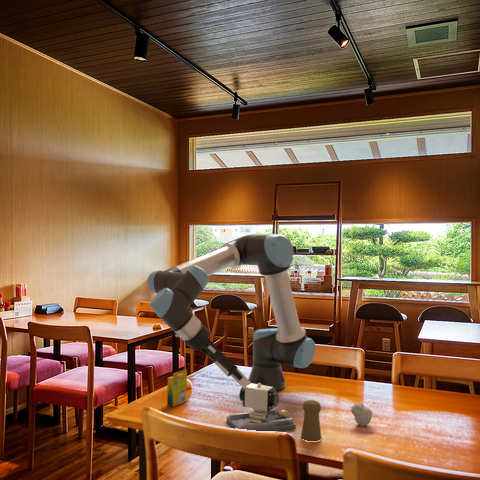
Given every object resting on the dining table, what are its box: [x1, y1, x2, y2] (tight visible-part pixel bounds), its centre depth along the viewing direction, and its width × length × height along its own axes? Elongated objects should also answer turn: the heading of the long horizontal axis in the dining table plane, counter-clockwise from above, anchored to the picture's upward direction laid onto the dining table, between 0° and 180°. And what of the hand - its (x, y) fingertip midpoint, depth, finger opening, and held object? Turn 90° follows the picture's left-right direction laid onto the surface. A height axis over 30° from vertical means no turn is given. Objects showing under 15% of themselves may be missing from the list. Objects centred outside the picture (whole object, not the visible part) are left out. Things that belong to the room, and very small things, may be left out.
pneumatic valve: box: [238, 383, 280, 423], centre depth 141 cm, size 6×12×12 cm, turn 64°
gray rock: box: [350, 402, 374, 426], centre depth 144 cm, size 6×7×7 cm
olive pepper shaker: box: [300, 399, 322, 441], centre depth 133 cm, size 6×6×11 cm
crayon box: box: [166, 369, 188, 408], centre depth 161 cm, size 7×3×12 cm, turn 145°
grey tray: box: [226, 408, 297, 432], centre depth 142 cm, size 18×13×4 cm
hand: (238, 379), depth 139 cm, fingers open, 13 cm apart
